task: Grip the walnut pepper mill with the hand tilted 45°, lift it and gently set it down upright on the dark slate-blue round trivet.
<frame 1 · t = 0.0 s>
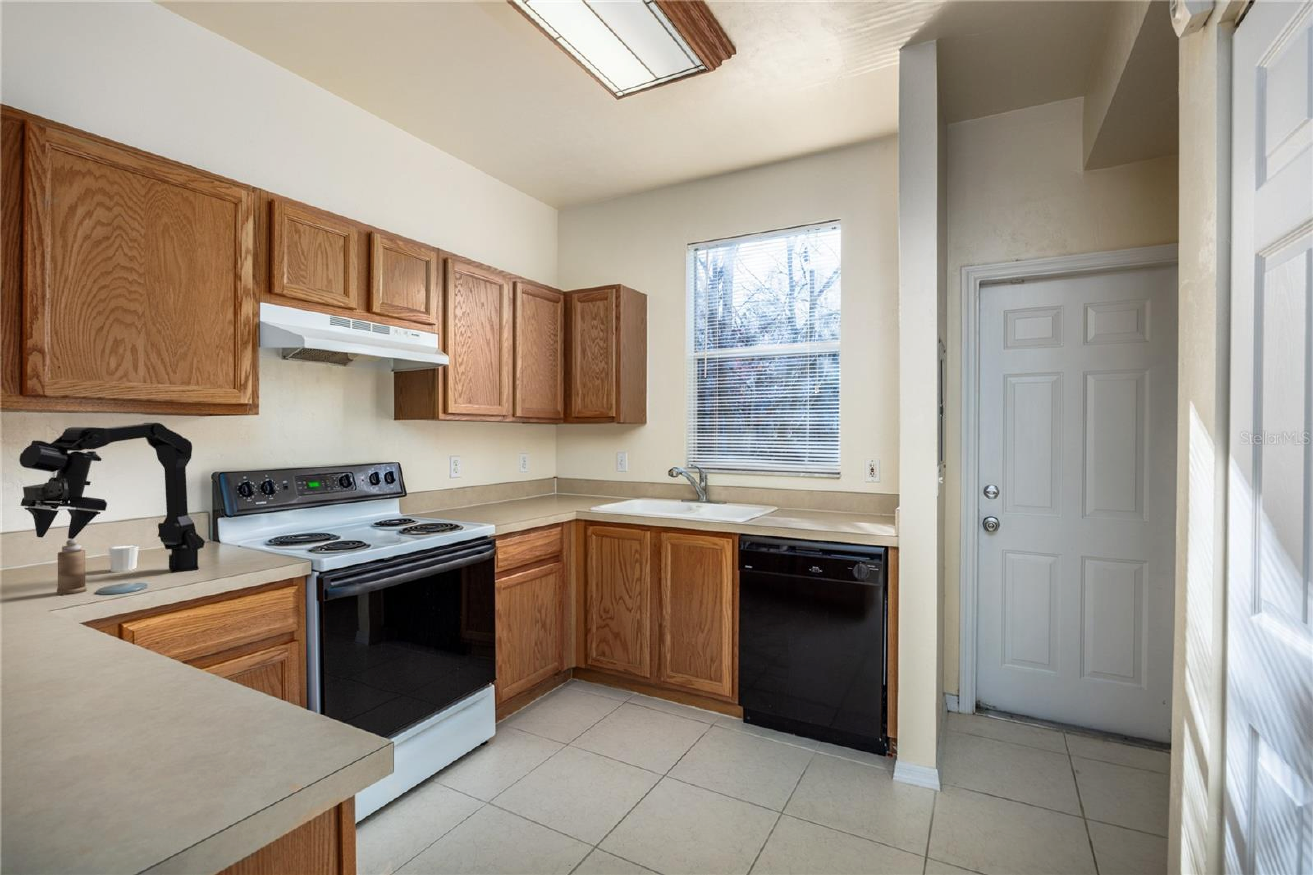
hand: (55, 538, 152), 15 cm above the countertop, tool pointing down, fingers open, 9 cm apart
trivet: (122, 589, 163), on the countertop
pepper mill: (71, 592, 160), on the countertop
white faceted cup: (123, 570, 185), on the countertop
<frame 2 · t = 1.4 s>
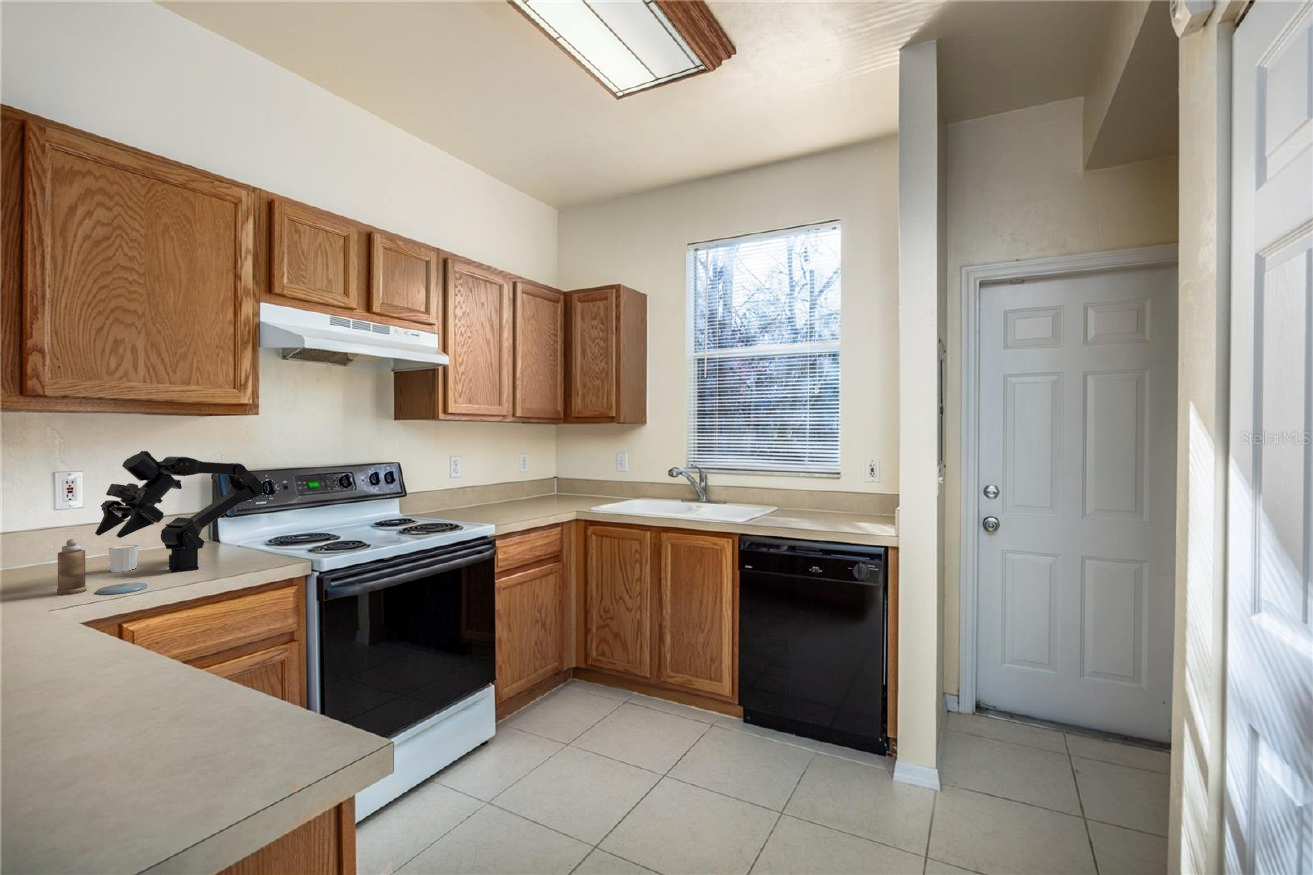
hand: (107, 535, 167), 13 cm above the countertop, tool tilted 45°, fingers open, 9 cm apart
nothing on the countertop moved.
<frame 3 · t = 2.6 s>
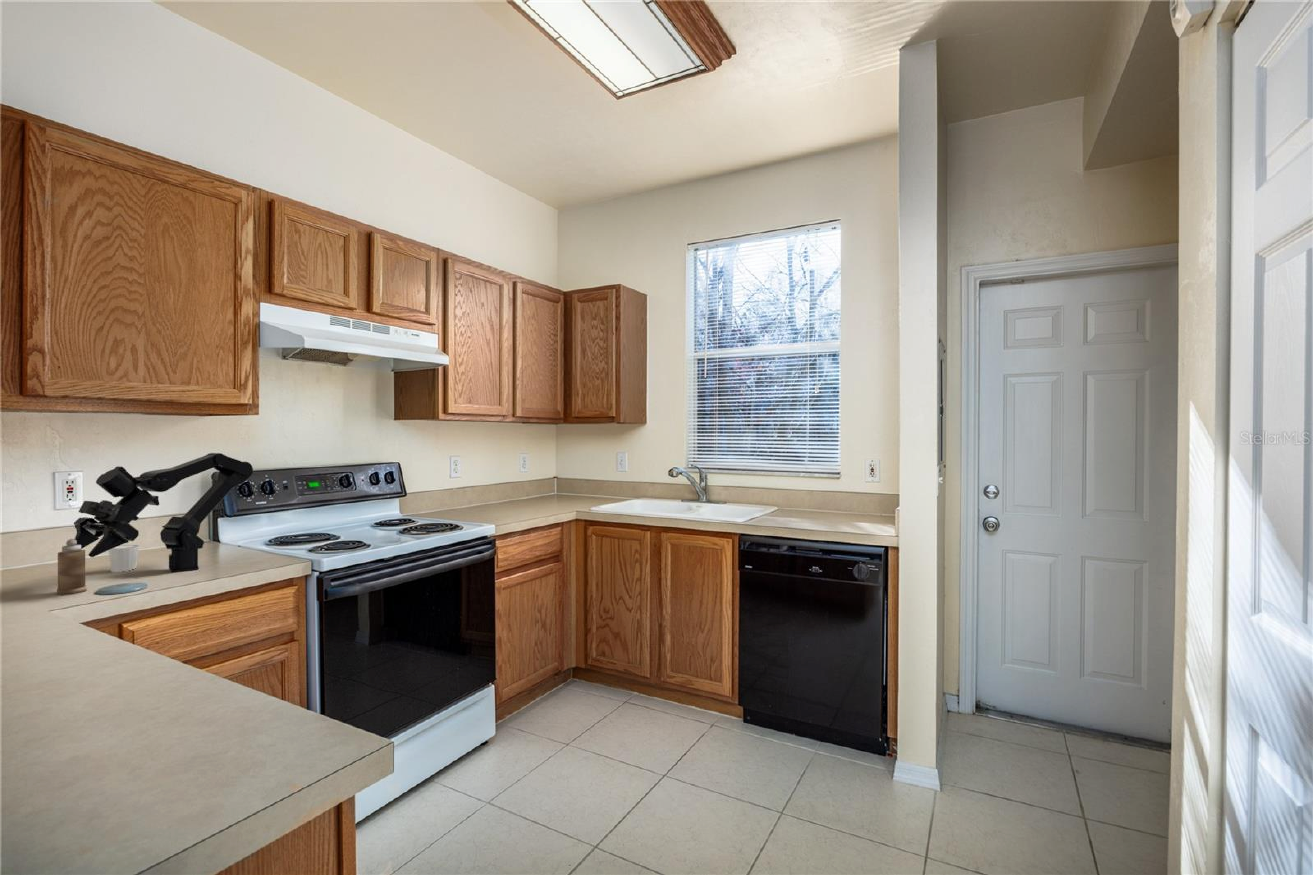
hand: (79, 554, 161), 9 cm above the countertop, tool tilted 45°, fingers open, 9 cm apart
nothing on the countertop moved.
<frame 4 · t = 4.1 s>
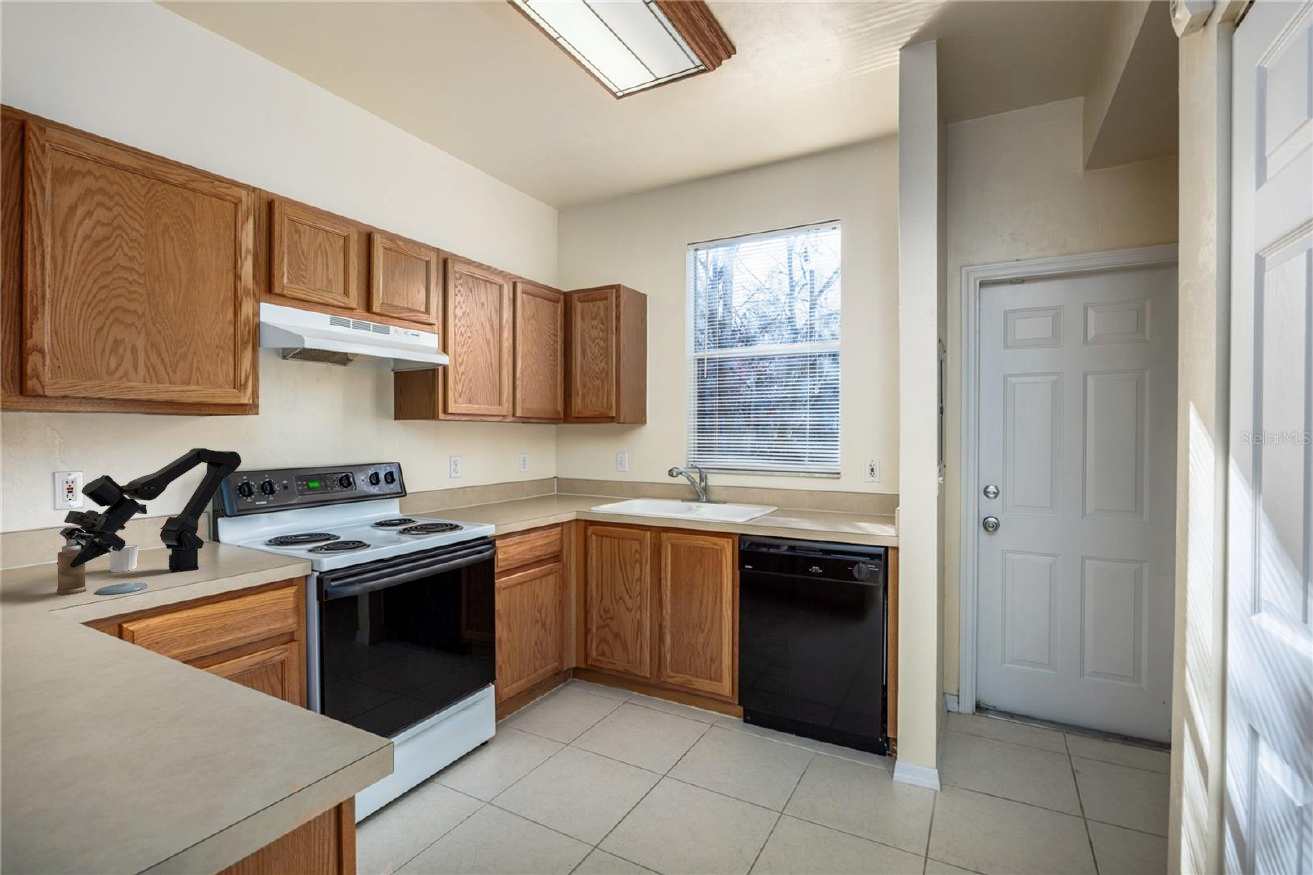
hand: (64, 565, 158), 7 cm above the countertop, tool tilted 45°, fingers closed on pepper mill, 5 cm apart
pepper mill: (71, 592, 160), on the countertop, touching gripper
everything else where it was.
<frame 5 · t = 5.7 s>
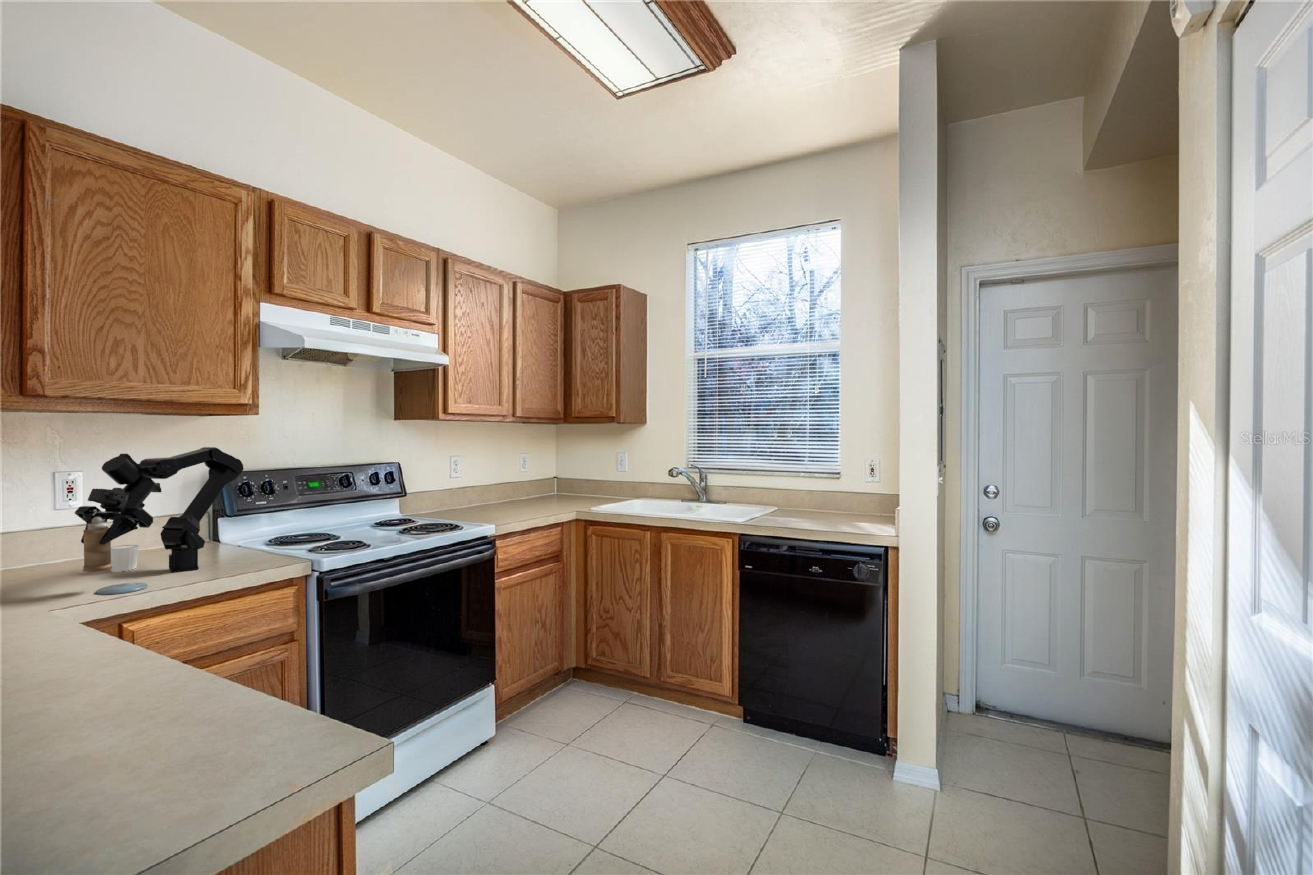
hand: (91, 543, 159), 13 cm above the countertop, tool tilted 45°, fingers closed on pepper mill, 5 cm apart
pepper mill: (97, 569, 161), point 6 cm above the countertop, touching gripper
everything else where it was.
when the fingers open (9 cm above the countertop, at t = 7.4 s): pepper mill drops 1 cm, resting on trivet.
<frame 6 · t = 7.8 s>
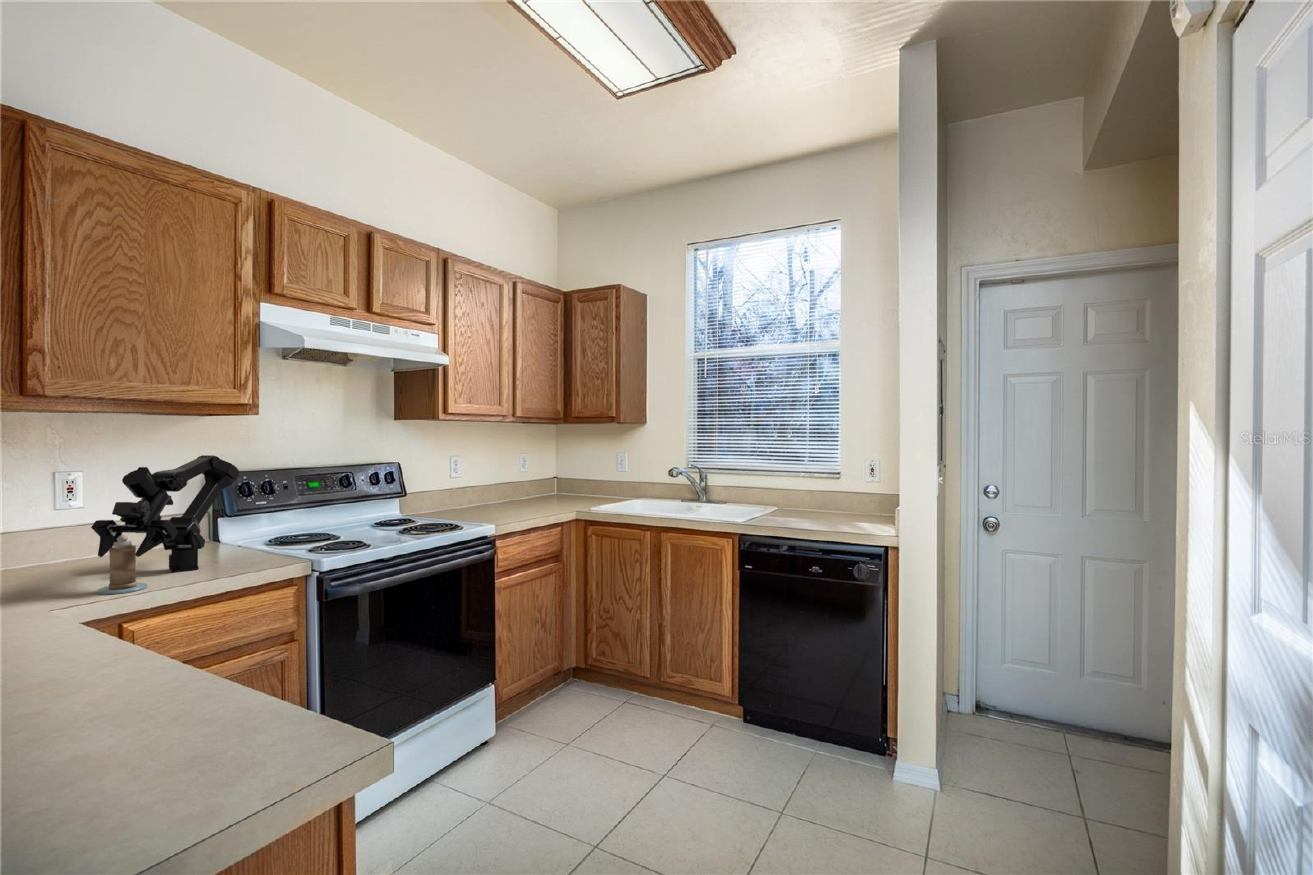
hand: (118, 556, 161), 9 cm above the countertop, tool tilted 45°, fingers open, 9 cm apart
pepper mill: (122, 587, 163), point 1 cm above the countertop, touching trivet
everything else where it was.
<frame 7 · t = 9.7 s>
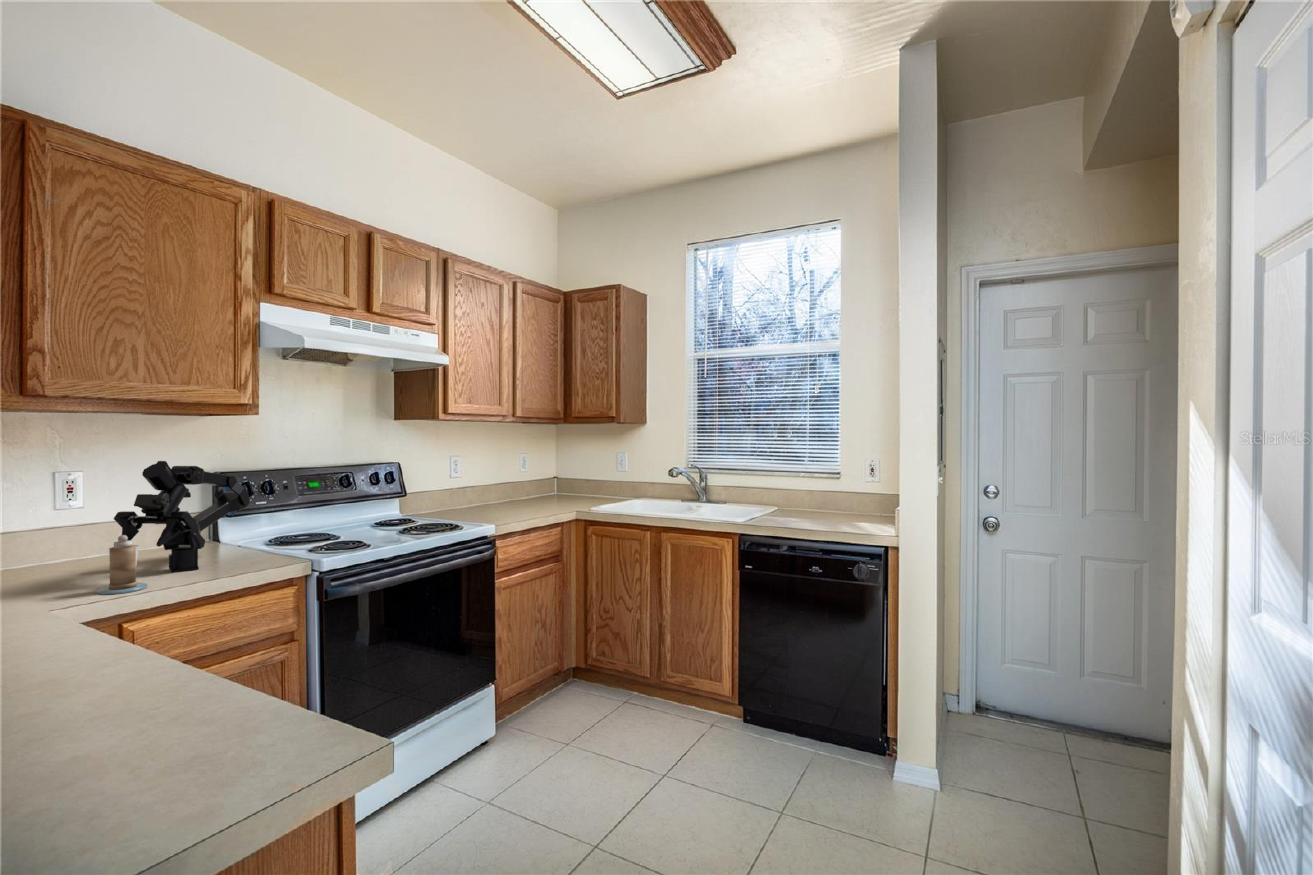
hand: (139, 545, 168), 10 cm above the countertop, tool tilted 45°, fingers open, 9 cm apart
nothing on the countertop moved.
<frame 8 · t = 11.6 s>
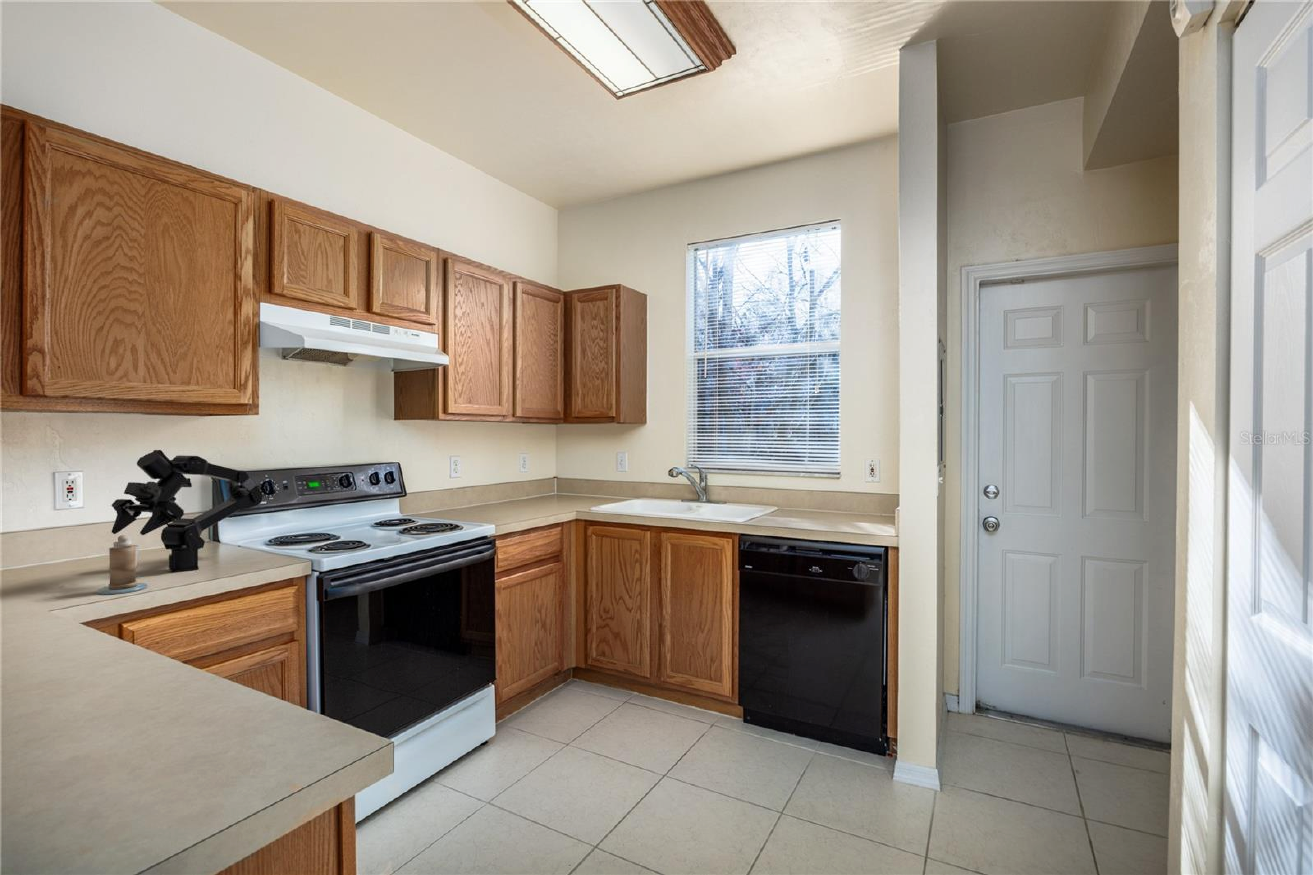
hand: (127, 533, 169), 14 cm above the countertop, tool tilted 45°, fingers open, 9 cm apart
nothing on the countertop moved.
at the end: pepper mill 0.1 cm off-centre on the trivet, point 0.6 cm above the trivet's base; pepper mill tilted 0°; the gripper is holding nothing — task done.
